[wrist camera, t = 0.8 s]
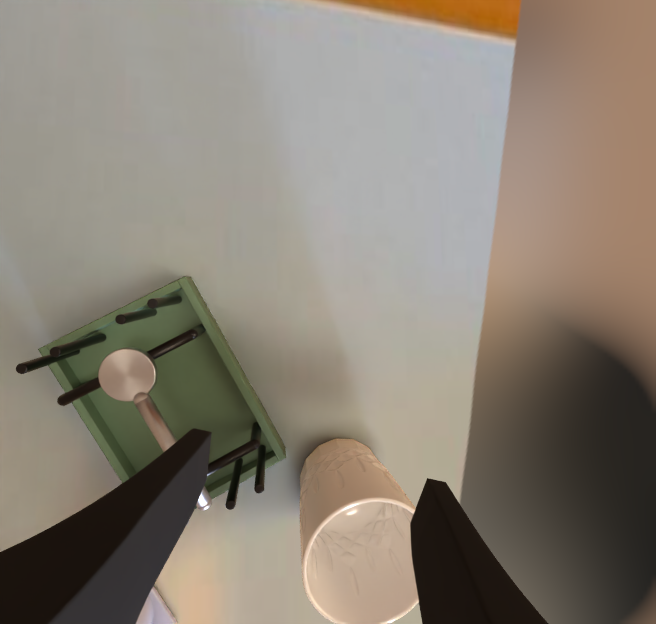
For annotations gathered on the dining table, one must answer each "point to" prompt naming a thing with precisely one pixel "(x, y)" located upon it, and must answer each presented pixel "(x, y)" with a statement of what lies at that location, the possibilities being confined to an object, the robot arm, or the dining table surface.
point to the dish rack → (94, 384)
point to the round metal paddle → (140, 394)
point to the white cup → (355, 536)
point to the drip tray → (170, 388)
